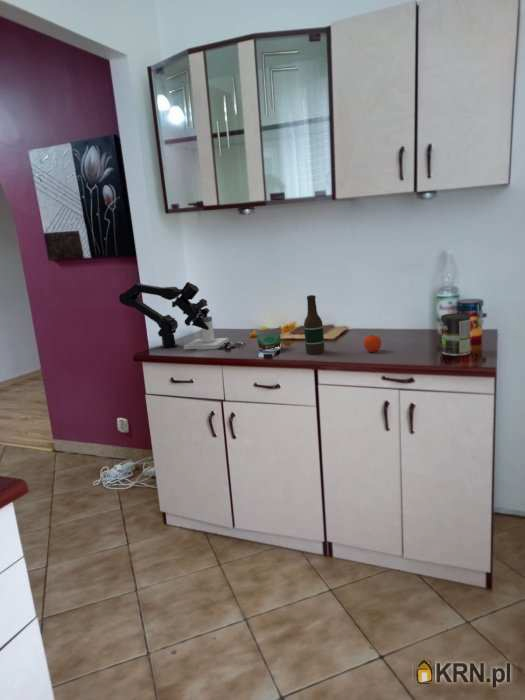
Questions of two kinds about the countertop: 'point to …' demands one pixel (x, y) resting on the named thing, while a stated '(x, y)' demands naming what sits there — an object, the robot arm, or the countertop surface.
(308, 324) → the beer bottle
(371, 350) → the clementine
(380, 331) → the countertop surface
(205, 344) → the socket
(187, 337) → the countertop surface
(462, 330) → the coffee can
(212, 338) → the plug
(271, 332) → the food container
